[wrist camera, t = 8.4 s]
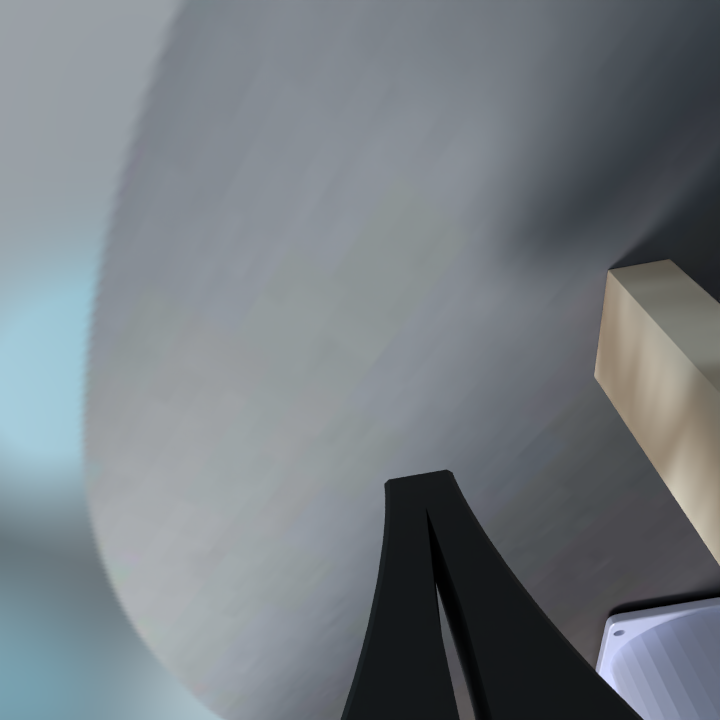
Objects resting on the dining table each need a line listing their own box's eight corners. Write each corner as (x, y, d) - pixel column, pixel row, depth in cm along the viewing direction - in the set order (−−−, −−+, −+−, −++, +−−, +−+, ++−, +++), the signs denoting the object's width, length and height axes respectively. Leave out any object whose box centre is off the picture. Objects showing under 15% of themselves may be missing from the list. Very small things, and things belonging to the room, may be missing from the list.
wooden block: (647, 366, 17) (879, 657, 10) (594, 376, 17) (789, 671, 10) (669, 259, 15) (982, 538, 8) (608, 269, 15) (869, 557, 8)
